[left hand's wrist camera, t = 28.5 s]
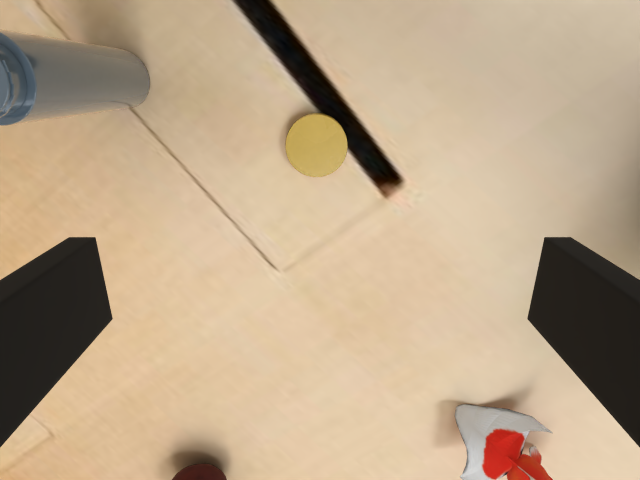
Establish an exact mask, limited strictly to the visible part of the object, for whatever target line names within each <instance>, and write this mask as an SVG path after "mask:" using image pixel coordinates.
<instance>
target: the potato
mask: <svg viewBox="0 0 640 480" xmlns="http://www.w3.org/2000/svg"><path fill="white" fill-rule="evenodd" d="M172 480H227V479H226V476H225V475H224V473H223V472H222V471H221V470H220V469H218V468H217V467H215V466H213V465H210V464H196V465H191V466H188V467H186V468H184V469H182V470H181V471H180V472H178V473H177V474H176V475H175V477H174V478H173V479H172Z"/></svg>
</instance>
